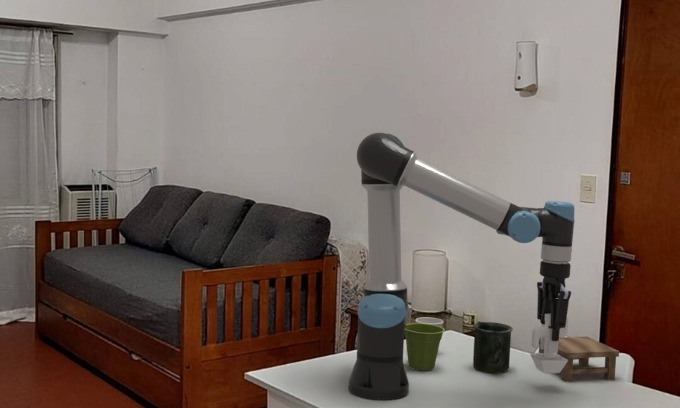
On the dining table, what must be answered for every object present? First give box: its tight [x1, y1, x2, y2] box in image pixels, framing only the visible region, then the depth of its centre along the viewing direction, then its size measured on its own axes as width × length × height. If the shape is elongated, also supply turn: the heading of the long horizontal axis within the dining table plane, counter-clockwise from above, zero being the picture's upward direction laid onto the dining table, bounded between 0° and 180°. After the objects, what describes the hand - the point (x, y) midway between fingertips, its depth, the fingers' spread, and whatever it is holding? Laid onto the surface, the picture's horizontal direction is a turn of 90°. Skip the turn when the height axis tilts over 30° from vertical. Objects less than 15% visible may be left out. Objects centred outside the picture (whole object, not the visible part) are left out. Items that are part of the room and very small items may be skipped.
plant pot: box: [404, 322, 446, 372], centre depth 212 cm, size 12×12×11 cm
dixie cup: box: [415, 316, 444, 328], centre depth 227 cm, size 8×8×10 cm
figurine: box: [530, 314, 569, 374], centre depth 197 cm, size 7×9×15 cm
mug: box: [472, 321, 514, 374], centre depth 212 cm, size 11×15×12 cm
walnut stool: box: [538, 336, 620, 383], centre depth 213 cm, size 16×16×8 cm
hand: (548, 350), depth 197 cm, fingers closed on figurine, 3 cm apart
